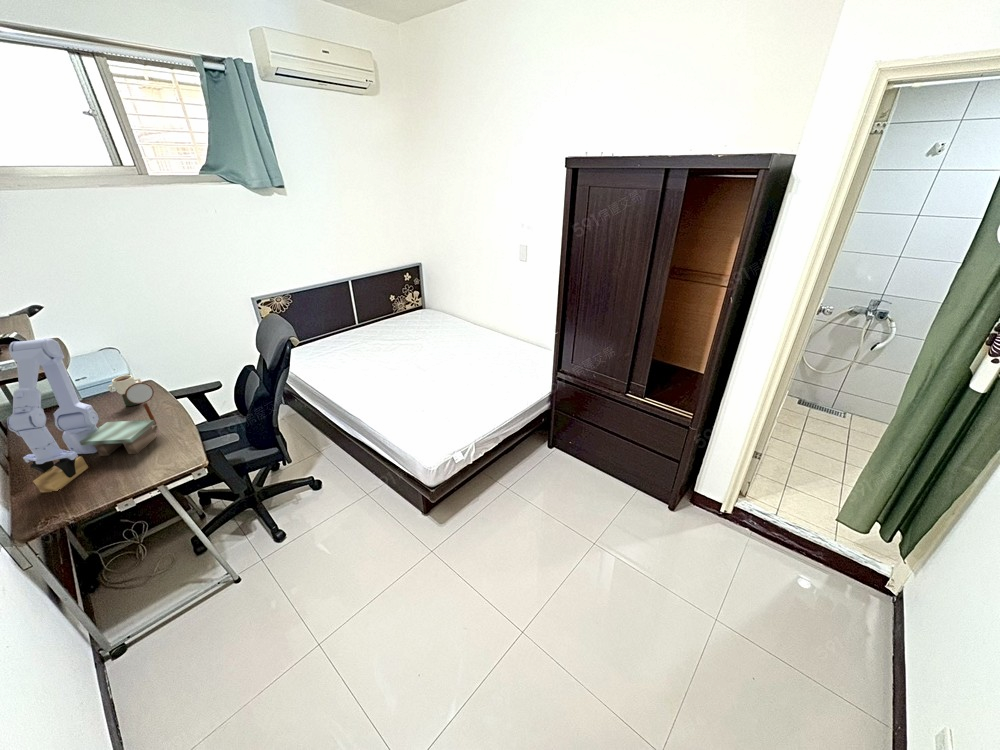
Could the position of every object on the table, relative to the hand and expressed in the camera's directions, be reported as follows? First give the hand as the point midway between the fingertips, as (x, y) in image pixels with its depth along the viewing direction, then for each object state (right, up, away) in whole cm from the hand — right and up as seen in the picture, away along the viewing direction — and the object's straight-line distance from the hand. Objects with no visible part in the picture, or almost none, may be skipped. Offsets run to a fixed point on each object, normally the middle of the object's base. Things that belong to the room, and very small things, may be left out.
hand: (63, 476), depth 135 cm
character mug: (-17, +21, +45) cm, 53 cm away
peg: (0, -1, +1) cm, 2 cm away
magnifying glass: (+6, +13, +29) cm, 32 cm away
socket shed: (+6, +7, +16) cm, 19 cm away
